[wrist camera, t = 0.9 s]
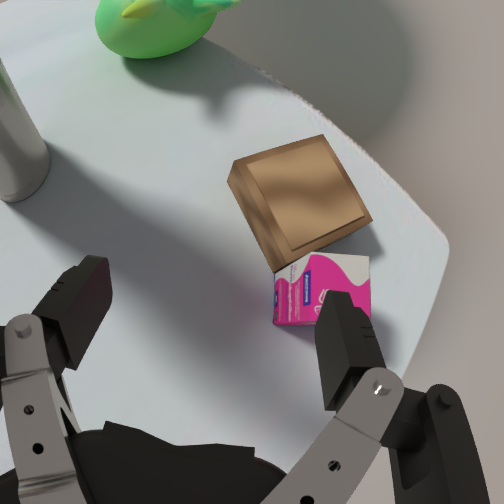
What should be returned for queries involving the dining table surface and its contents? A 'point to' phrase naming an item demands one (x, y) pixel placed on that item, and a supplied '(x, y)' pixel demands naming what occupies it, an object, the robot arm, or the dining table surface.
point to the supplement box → (319, 286)
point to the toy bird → (155, 24)
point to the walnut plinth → (296, 199)
